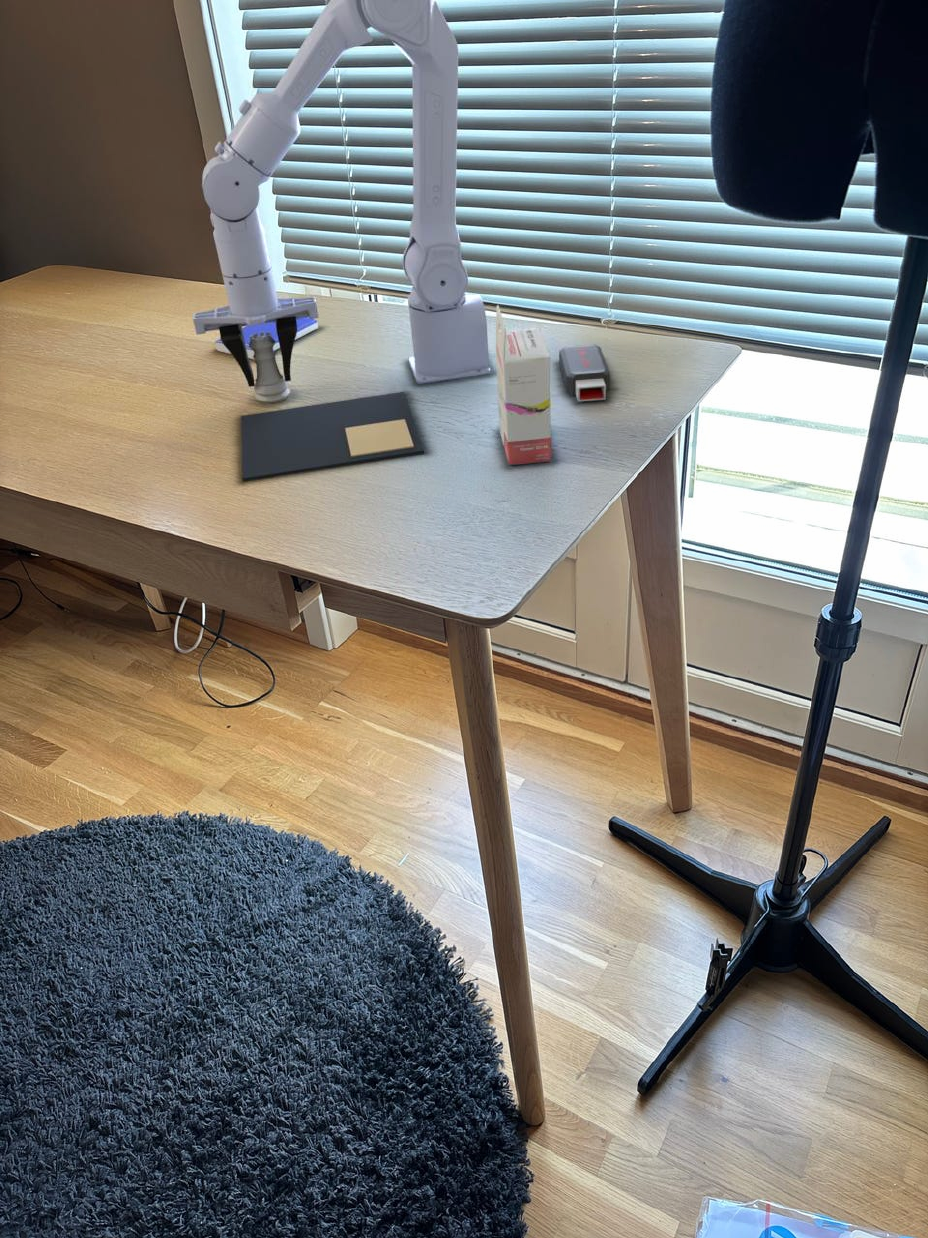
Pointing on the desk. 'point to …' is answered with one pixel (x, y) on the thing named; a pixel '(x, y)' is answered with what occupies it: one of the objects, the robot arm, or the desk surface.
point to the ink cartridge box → (523, 393)
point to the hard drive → (302, 329)
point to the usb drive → (584, 372)
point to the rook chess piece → (267, 371)
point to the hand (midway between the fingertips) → (269, 380)
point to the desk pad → (327, 436)
